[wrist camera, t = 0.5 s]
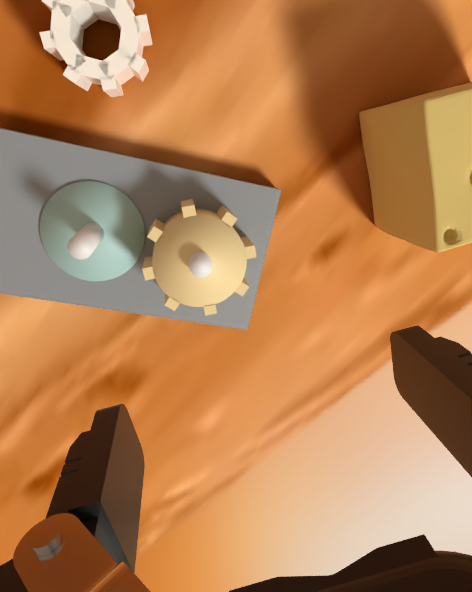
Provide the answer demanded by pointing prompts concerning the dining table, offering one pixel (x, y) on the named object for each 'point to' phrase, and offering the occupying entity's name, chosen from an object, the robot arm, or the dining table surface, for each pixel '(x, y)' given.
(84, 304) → the gear board
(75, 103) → the dining table surface
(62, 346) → the dining table surface
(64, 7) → the nylon gear
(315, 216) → the dining table surface
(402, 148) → the cheese
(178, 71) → the dining table surface
